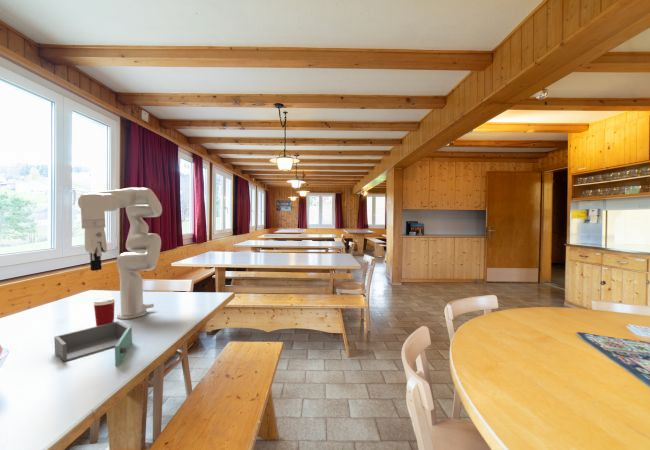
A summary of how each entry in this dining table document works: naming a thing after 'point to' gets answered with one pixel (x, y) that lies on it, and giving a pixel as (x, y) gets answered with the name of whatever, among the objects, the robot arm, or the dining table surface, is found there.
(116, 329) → the case
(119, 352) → the green drawer with knob
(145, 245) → the robot arm
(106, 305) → the paper cup
